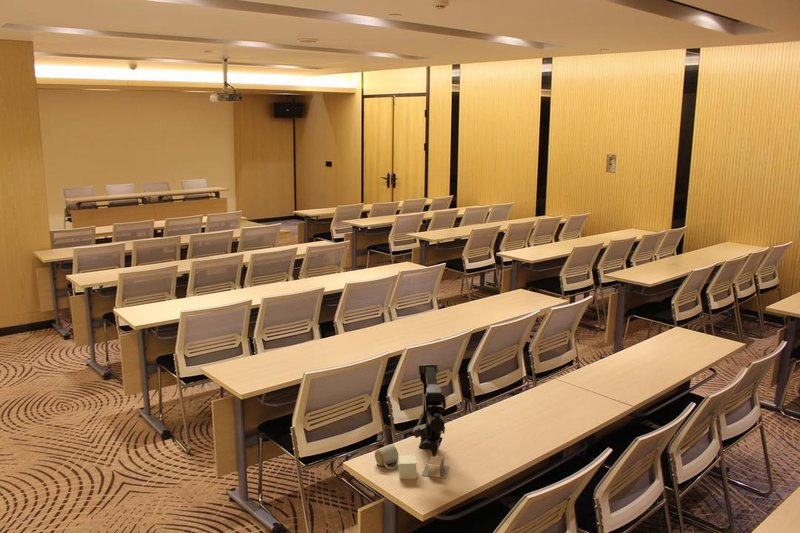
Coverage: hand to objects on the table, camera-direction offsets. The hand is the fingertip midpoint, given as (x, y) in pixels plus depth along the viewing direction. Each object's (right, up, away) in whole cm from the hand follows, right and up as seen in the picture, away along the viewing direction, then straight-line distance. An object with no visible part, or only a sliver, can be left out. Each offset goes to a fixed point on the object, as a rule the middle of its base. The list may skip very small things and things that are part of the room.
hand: (434, 456), depth 280 cm
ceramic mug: (-19, -7, +13) cm, 24 cm away
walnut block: (0, -6, +1) cm, 7 cm away
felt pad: (+1, -8, +6) cm, 10 cm away
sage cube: (-11, -9, +4) cm, 15 cm away
